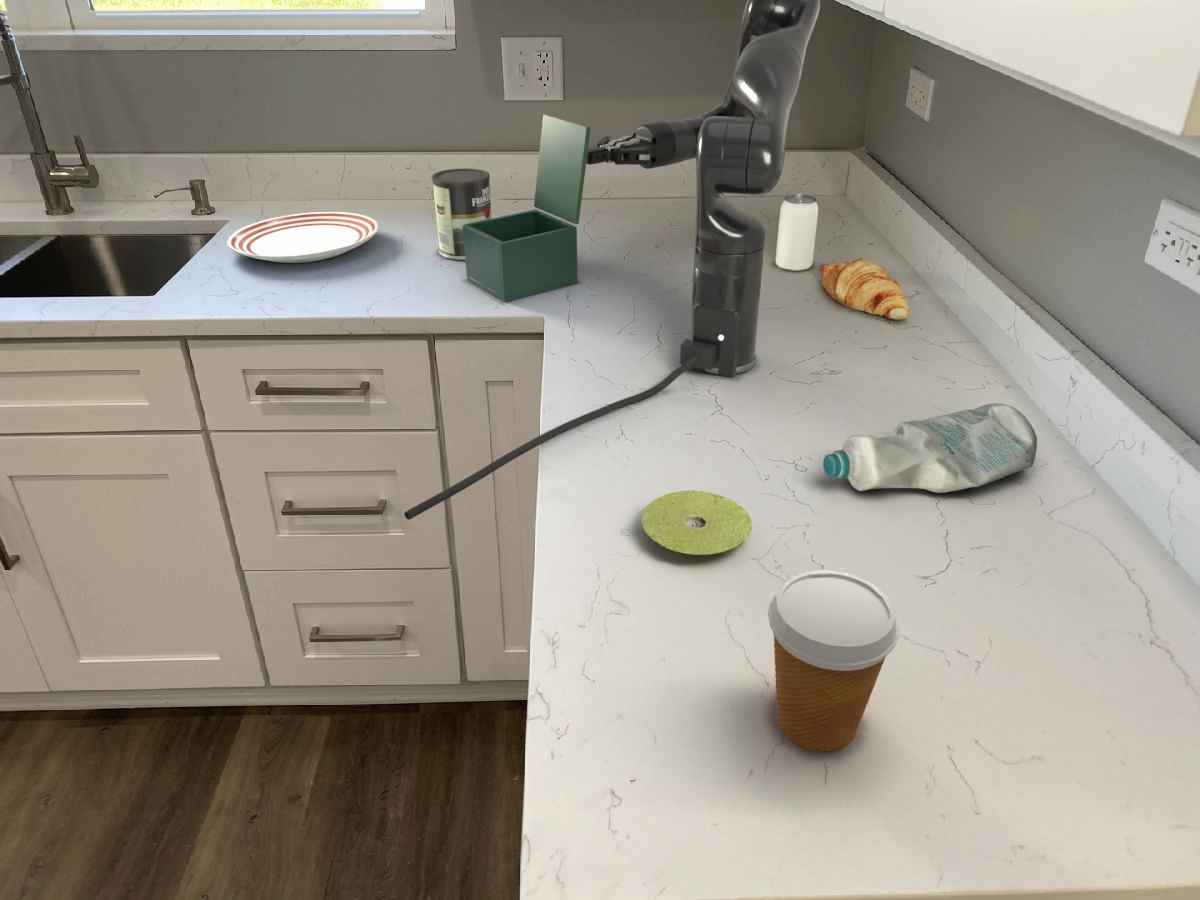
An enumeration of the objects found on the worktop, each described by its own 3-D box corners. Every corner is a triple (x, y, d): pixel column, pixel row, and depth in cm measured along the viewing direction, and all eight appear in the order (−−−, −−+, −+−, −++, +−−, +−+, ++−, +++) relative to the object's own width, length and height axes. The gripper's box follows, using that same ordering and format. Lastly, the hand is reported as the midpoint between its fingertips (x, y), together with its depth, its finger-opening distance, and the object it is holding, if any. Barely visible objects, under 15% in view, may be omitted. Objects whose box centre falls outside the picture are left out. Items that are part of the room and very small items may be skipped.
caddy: (504, 302, 151) (501, 244, 146) (466, 280, 160) (462, 224, 155) (577, 282, 158) (576, 226, 153) (537, 262, 167) (535, 209, 162)
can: (810, 259, 168) (817, 193, 161) (813, 272, 162) (821, 204, 156) (774, 258, 168) (780, 193, 162) (776, 271, 163) (782, 203, 156)
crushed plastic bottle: (981, 431, 114) (794, 455, 108) (998, 381, 109) (805, 404, 104) (1049, 496, 103) (846, 527, 98) (1070, 444, 99) (860, 473, 93)
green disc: (691, 492, 103) (692, 478, 102) (772, 536, 96) (774, 521, 95) (618, 534, 96) (619, 518, 95) (700, 584, 89) (701, 568, 88)
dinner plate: (198, 264, 167) (193, 246, 166) (287, 220, 190) (284, 204, 188) (329, 280, 160) (326, 261, 158) (406, 232, 182) (404, 216, 180)
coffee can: (503, 245, 175) (499, 170, 168) (478, 263, 167) (472, 185, 160) (456, 239, 178) (449, 165, 171) (428, 256, 170) (420, 179, 163)
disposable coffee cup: (803, 786, 69) (822, 668, 63) (734, 700, 76) (744, 586, 70) (903, 742, 72) (930, 626, 66) (828, 664, 80) (846, 553, 73)
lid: (586, 127, 146) (590, 127, 147) (543, 114, 155) (547, 114, 155) (574, 224, 153) (578, 224, 153) (533, 206, 161) (537, 206, 162)
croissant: (915, 341, 145) (942, 295, 142) (875, 324, 139) (903, 276, 137) (829, 294, 161) (852, 252, 159) (791, 277, 155) (814, 233, 153)
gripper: (641, 115, 167) (562, 128, 159) (689, 128, 158) (608, 141, 150) (640, 157, 171) (563, 172, 163) (687, 172, 162) (608, 188, 153)
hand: (585, 157), depth 156 cm, fingers closed
